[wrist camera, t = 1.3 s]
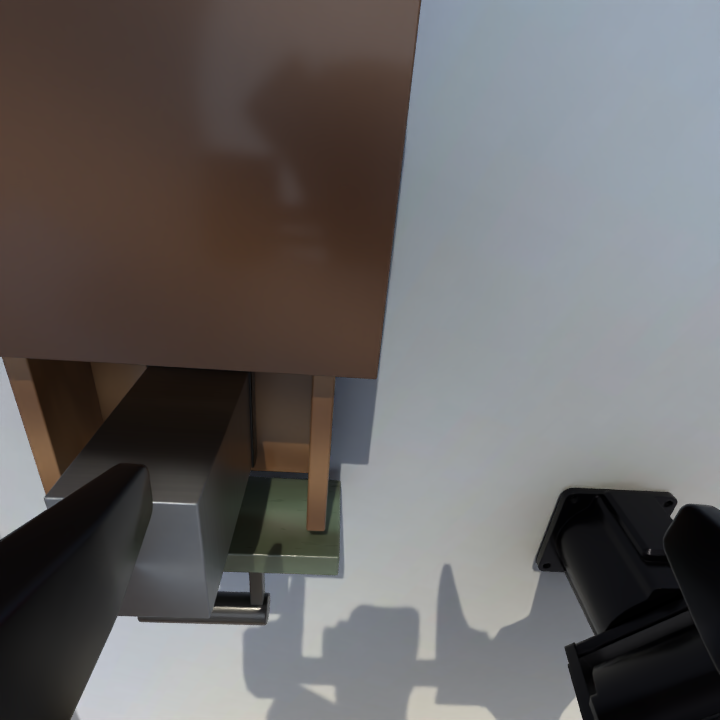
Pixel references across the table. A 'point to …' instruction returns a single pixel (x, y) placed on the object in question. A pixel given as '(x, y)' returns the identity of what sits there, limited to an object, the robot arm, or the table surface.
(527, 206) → the table surface
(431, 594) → the table surface
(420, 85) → the table surface
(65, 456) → the drawer
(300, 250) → the cabinet
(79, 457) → the brushed steel box
